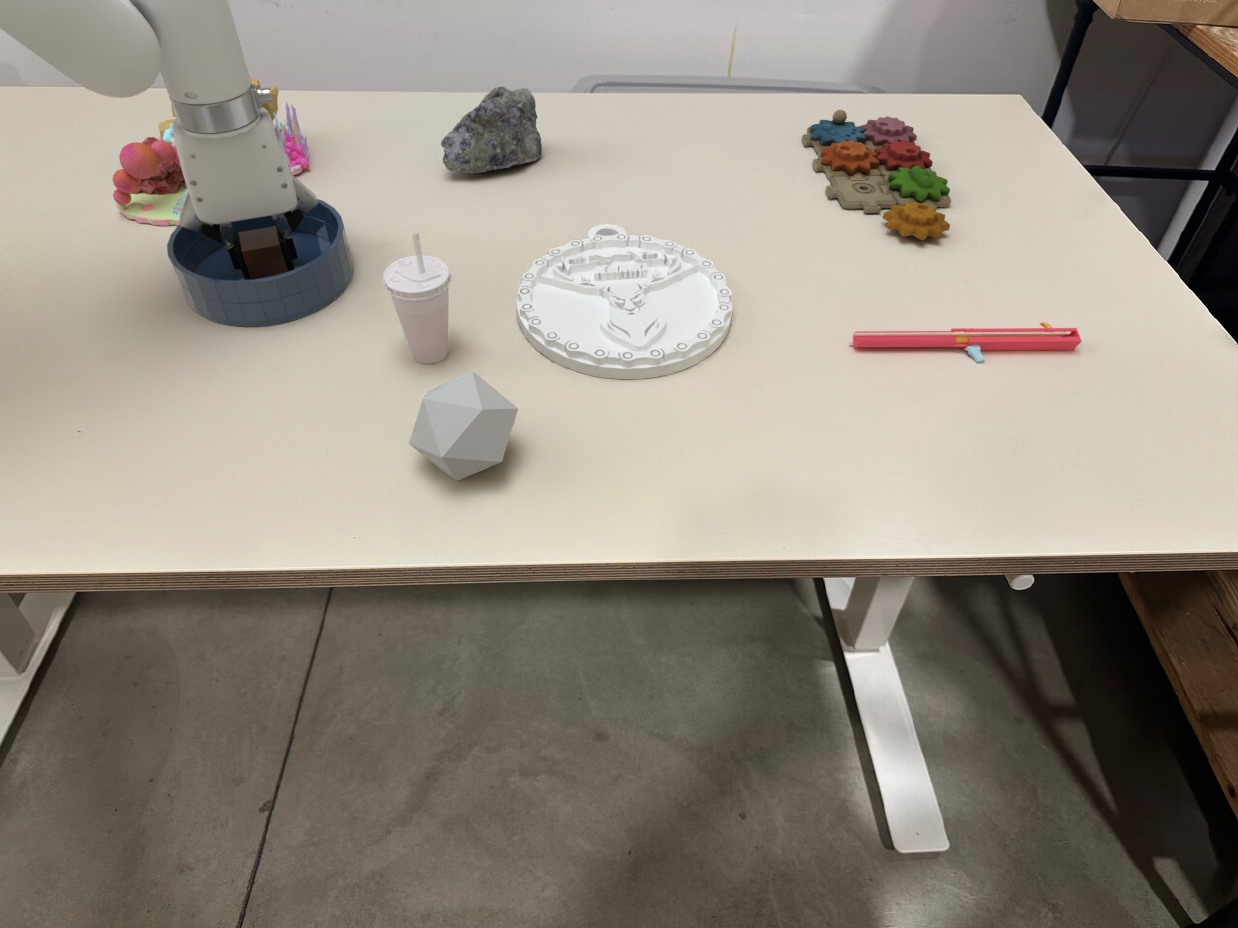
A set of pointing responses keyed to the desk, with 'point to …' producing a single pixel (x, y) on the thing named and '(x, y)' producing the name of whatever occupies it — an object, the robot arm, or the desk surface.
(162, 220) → the pastel sphere sculpture
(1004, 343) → the red long bar
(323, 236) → the bowl
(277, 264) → the block
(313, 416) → the desk surface
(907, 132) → the gear puzzle
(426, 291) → the smoothie
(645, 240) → the medallion
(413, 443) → the die
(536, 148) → the mineral rock
